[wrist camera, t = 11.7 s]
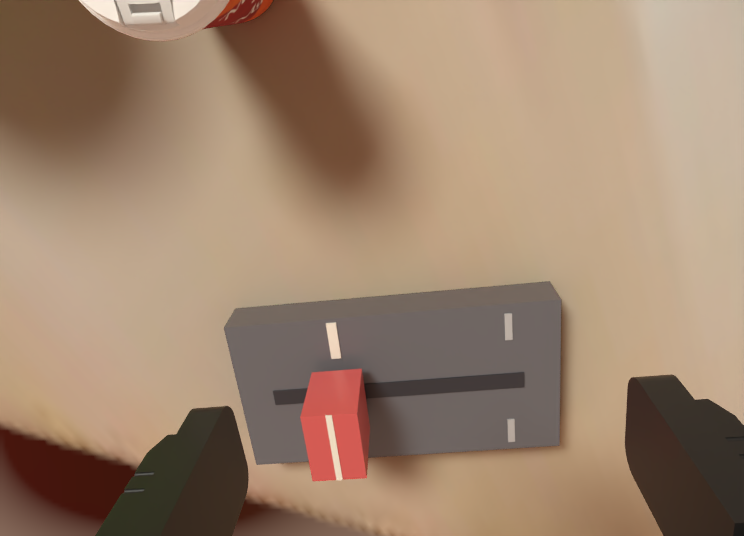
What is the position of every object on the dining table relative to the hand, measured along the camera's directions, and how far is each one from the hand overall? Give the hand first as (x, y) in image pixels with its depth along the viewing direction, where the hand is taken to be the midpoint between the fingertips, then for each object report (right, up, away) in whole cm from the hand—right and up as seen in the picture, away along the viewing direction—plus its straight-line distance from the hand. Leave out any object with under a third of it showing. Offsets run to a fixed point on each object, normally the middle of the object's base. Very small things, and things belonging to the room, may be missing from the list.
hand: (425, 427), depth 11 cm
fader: (-3, -6, +29) cm, 29 cm away
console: (+1, -4, +32) cm, 32 cm away
